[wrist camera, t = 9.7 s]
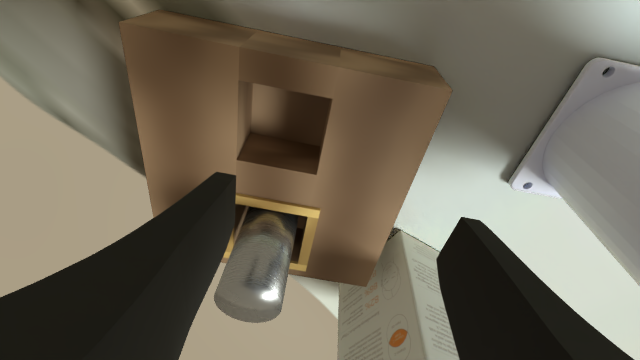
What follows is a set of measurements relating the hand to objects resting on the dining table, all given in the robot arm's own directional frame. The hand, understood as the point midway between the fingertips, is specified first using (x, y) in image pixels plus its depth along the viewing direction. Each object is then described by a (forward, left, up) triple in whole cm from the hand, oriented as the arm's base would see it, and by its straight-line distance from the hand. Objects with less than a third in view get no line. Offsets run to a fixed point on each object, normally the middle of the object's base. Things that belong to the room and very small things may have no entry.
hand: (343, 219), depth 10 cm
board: (+3, +4, -9) cm, 11 cm away
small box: (-7, +13, -10) cm, 18 cm away
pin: (+3, +7, -9) cm, 12 cm away
